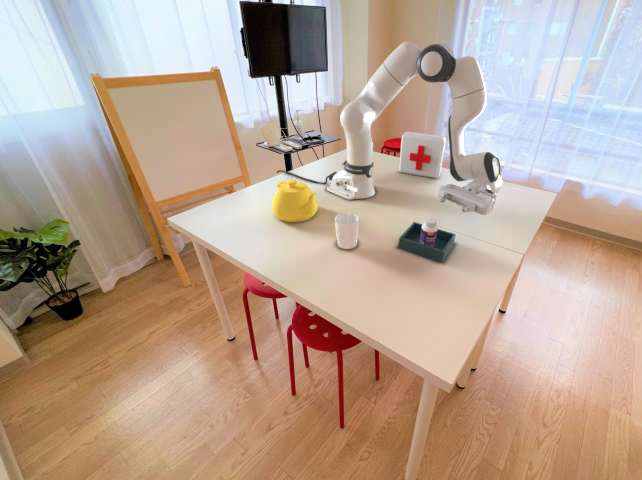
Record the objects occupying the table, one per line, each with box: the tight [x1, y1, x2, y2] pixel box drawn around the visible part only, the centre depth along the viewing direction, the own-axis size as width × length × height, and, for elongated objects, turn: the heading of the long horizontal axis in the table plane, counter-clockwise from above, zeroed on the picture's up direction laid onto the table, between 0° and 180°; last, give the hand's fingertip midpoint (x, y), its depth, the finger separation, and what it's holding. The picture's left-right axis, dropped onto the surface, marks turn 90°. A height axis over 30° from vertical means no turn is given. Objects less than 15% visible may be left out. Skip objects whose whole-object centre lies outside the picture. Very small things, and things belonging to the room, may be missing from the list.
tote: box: [397, 221, 457, 263], centre depth 105 cm, size 16×13×4 cm
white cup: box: [334, 212, 360, 250], centre depth 103 cm, size 8×8×10 cm
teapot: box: [271, 179, 319, 223], centre depth 118 cm, size 25×18×14 cm
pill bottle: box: [419, 216, 439, 247], centre depth 103 cm, size 5×5×10 cm
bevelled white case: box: [398, 131, 447, 180], centre depth 154 cm, size 21×8×20 cm, turn 68°
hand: (452, 205), depth 106 cm, fingers open, 8 cm apart
